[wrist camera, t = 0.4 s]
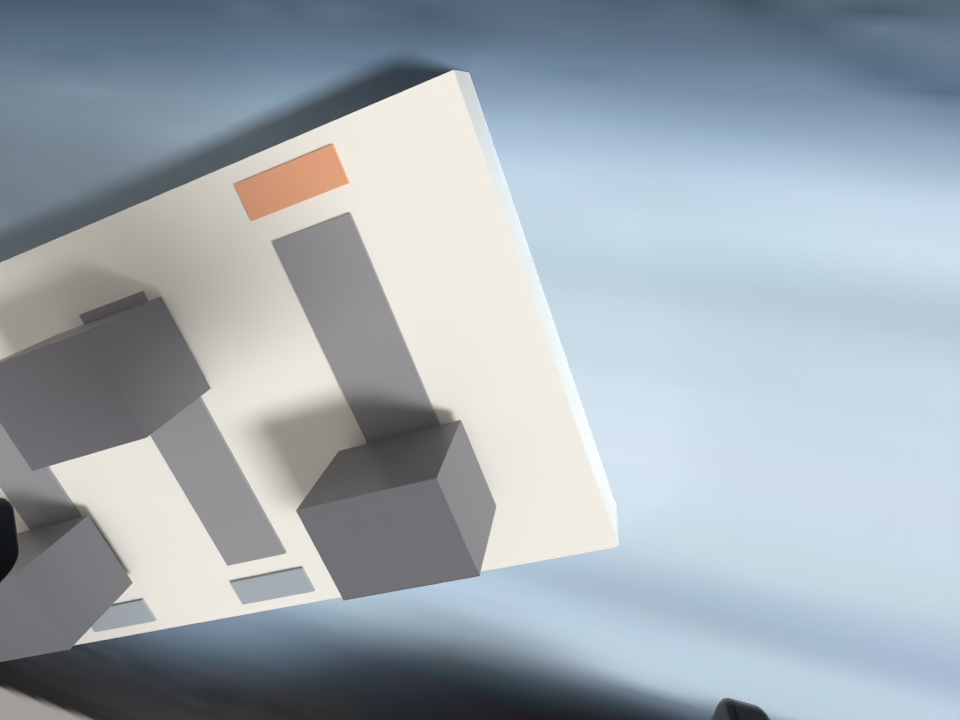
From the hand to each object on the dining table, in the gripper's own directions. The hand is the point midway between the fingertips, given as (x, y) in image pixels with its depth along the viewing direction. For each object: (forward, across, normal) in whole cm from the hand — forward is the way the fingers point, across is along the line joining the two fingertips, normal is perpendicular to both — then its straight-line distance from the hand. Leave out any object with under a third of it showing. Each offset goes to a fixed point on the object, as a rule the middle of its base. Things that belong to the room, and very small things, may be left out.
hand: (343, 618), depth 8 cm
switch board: (+12, +9, +6) cm, 16 cm away
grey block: (+10, +10, +3) cm, 15 cm away
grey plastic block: (+10, +1, +5) cm, 11 cm away
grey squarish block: (+10, +13, +12) cm, 20 cm away
